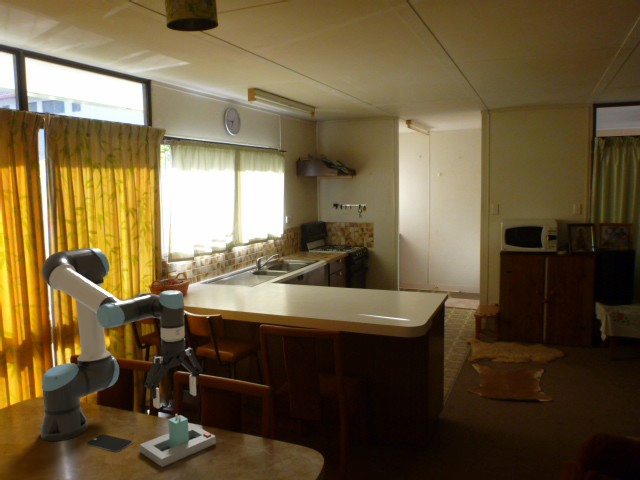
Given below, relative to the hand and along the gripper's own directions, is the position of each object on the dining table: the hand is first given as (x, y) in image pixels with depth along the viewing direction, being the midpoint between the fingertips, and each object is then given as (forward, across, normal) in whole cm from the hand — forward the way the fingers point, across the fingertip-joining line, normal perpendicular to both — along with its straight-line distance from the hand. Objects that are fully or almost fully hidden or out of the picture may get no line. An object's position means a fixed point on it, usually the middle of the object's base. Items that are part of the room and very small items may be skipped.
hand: (175, 400), depth 175 cm
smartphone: (+18, -14, +20) cm, 30 cm away
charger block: (+16, 0, -1) cm, 16 cm away
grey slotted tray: (+16, 0, -1) cm, 16 cm away
